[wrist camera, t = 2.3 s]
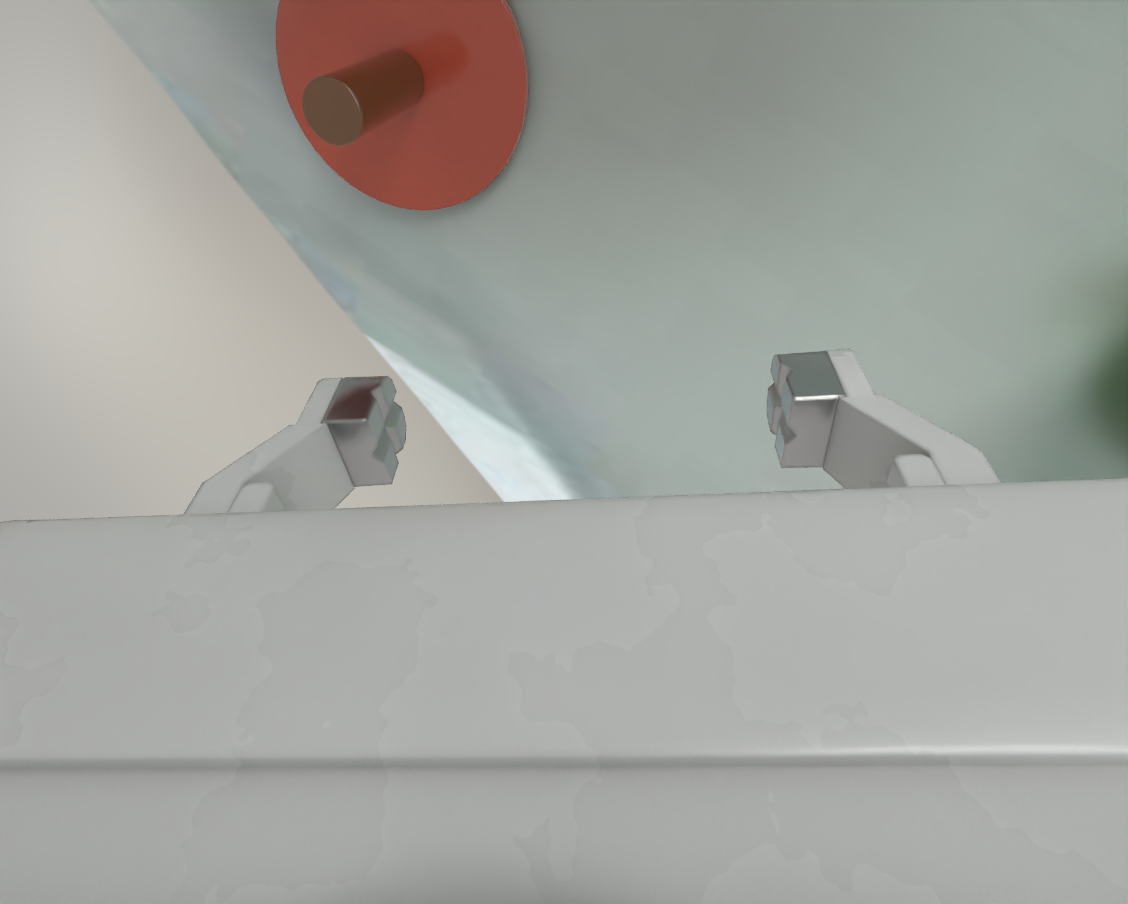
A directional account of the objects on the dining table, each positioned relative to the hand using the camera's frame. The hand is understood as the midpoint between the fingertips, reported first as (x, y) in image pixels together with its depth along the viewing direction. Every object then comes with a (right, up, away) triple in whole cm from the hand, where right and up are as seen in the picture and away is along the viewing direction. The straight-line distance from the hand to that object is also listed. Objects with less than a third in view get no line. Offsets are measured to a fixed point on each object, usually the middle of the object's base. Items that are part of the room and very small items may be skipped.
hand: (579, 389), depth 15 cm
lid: (-8, +17, +19) cm, 27 cm away
